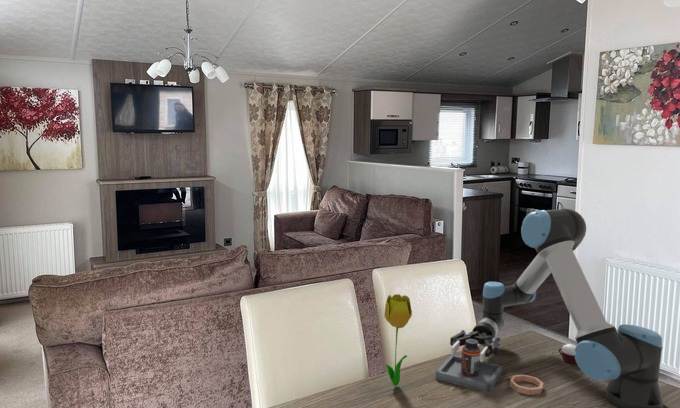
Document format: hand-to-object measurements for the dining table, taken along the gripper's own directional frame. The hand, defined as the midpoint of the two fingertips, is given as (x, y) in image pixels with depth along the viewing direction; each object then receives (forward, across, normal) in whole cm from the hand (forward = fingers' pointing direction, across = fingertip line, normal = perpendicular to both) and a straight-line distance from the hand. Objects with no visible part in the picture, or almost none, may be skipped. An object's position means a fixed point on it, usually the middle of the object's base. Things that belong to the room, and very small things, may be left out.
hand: (466, 354), depth 169 cm
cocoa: (-35, -28, -10) cm, 45 cm away
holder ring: (-7, -18, -9) cm, 21 cm away
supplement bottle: (-5, 0, -8) cm, 10 cm away
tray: (-5, 0, -9) cm, 10 cm away
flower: (+15, +18, -10) cm, 26 cm away
